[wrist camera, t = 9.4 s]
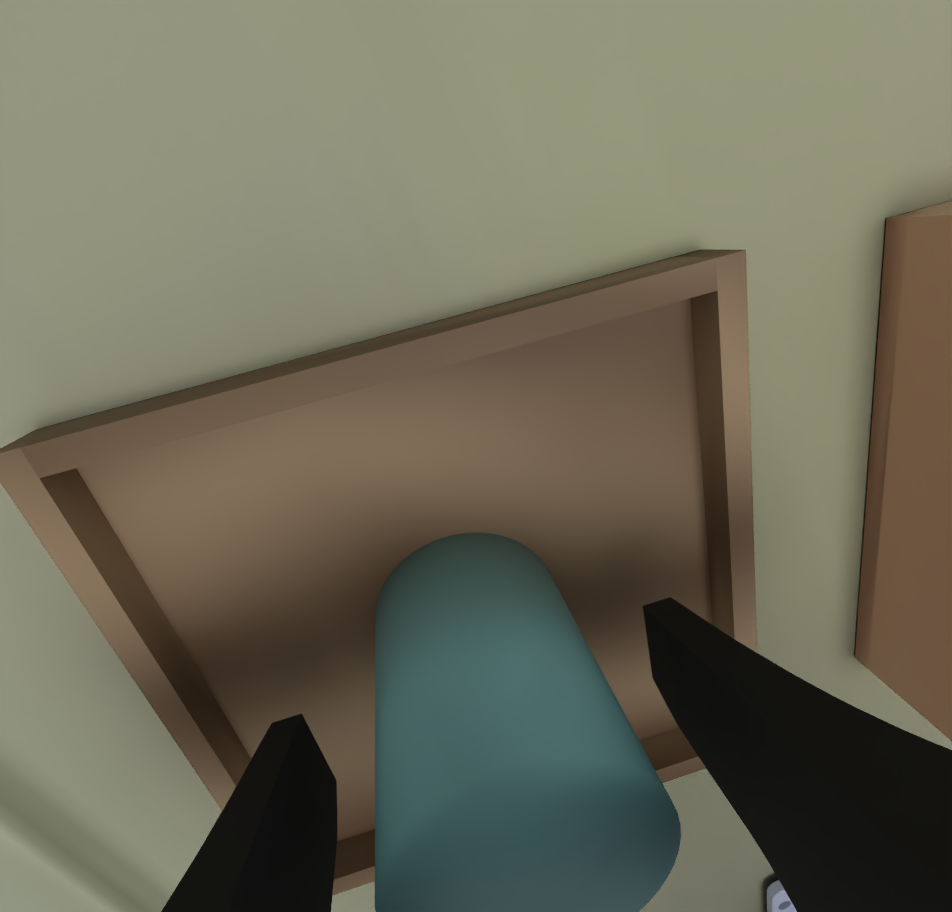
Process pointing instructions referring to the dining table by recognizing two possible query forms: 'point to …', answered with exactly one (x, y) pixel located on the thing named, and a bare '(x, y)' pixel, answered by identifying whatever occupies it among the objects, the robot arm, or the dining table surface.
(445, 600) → the teal cylinder
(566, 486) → the tray
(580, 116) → the dining table surface
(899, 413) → the pink storage bin
